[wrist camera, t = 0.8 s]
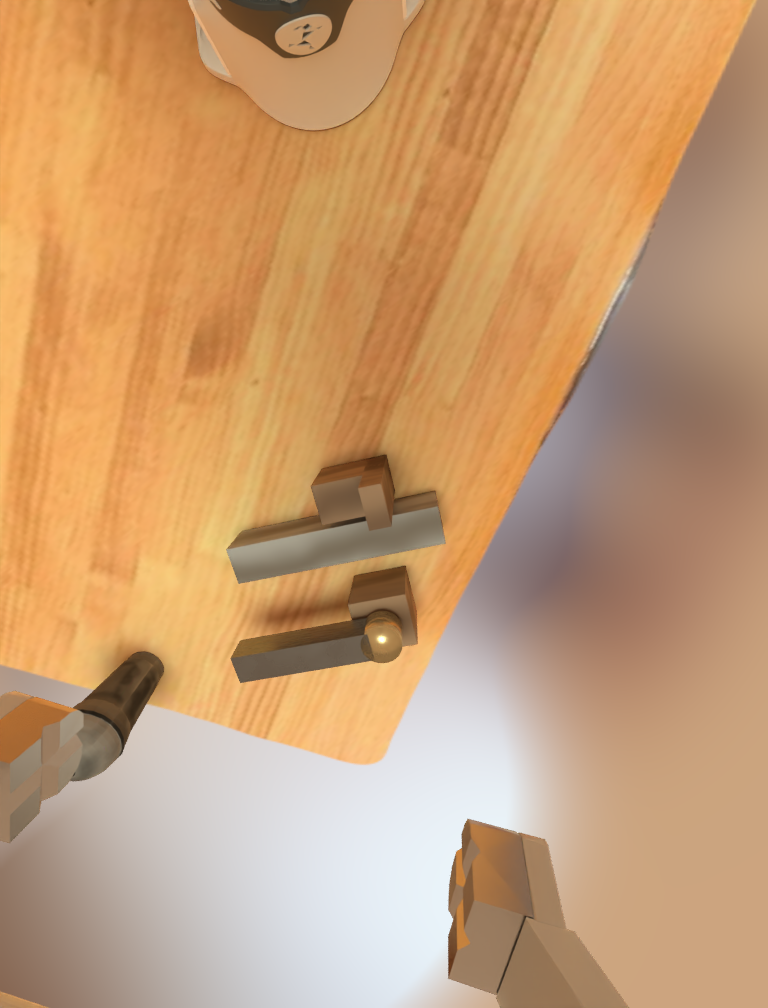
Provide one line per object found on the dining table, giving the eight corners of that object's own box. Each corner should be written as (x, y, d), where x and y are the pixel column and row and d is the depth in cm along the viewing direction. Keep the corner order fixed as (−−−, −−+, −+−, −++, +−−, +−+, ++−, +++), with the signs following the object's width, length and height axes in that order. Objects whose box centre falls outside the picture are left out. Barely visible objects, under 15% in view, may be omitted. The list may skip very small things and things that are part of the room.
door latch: (227, 489, 53) (185, 524, 43) (425, 446, 51) (429, 472, 41) (278, 636, 59) (252, 696, 49) (458, 603, 56) (469, 661, 46)
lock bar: (397, 607, 49) (396, 624, 46) (406, 641, 50) (406, 659, 47) (238, 636, 51) (228, 654, 48) (250, 667, 52) (241, 686, 49)
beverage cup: (178, 690, 62) (79, 844, 44) (123, 690, 63) (1, 842, 44) (169, 642, 60) (59, 782, 41) (111, 642, 60) (-23, 781, 42)
